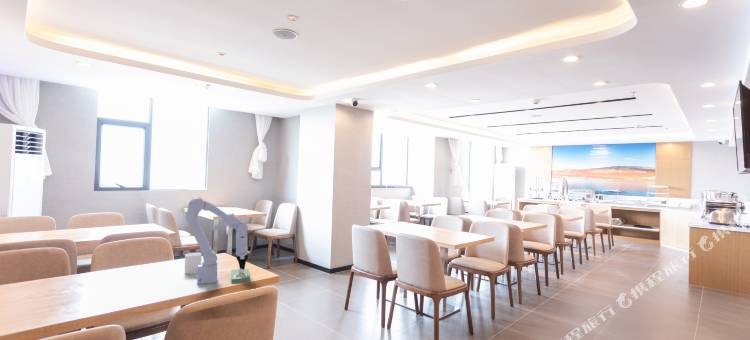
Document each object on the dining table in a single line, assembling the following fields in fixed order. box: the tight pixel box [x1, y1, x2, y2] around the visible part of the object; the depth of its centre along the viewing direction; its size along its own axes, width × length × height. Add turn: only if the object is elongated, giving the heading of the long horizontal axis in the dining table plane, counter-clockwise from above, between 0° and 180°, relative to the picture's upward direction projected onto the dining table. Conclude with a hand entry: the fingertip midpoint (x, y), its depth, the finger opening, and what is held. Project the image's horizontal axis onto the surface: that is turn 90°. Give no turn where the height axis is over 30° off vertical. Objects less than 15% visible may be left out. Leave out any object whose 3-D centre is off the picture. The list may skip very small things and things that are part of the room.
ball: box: [238, 267, 246, 274], centre depth 200 cm, size 4×4×4 cm
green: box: [230, 268, 251, 284], centre depth 201 cm, size 9×18×2 cm, turn 21°
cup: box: [184, 252, 202, 275], centre depth 210 cm, size 8×12×10 cm
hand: (242, 269), depth 200 cm, fingers closed, pressing on ball
